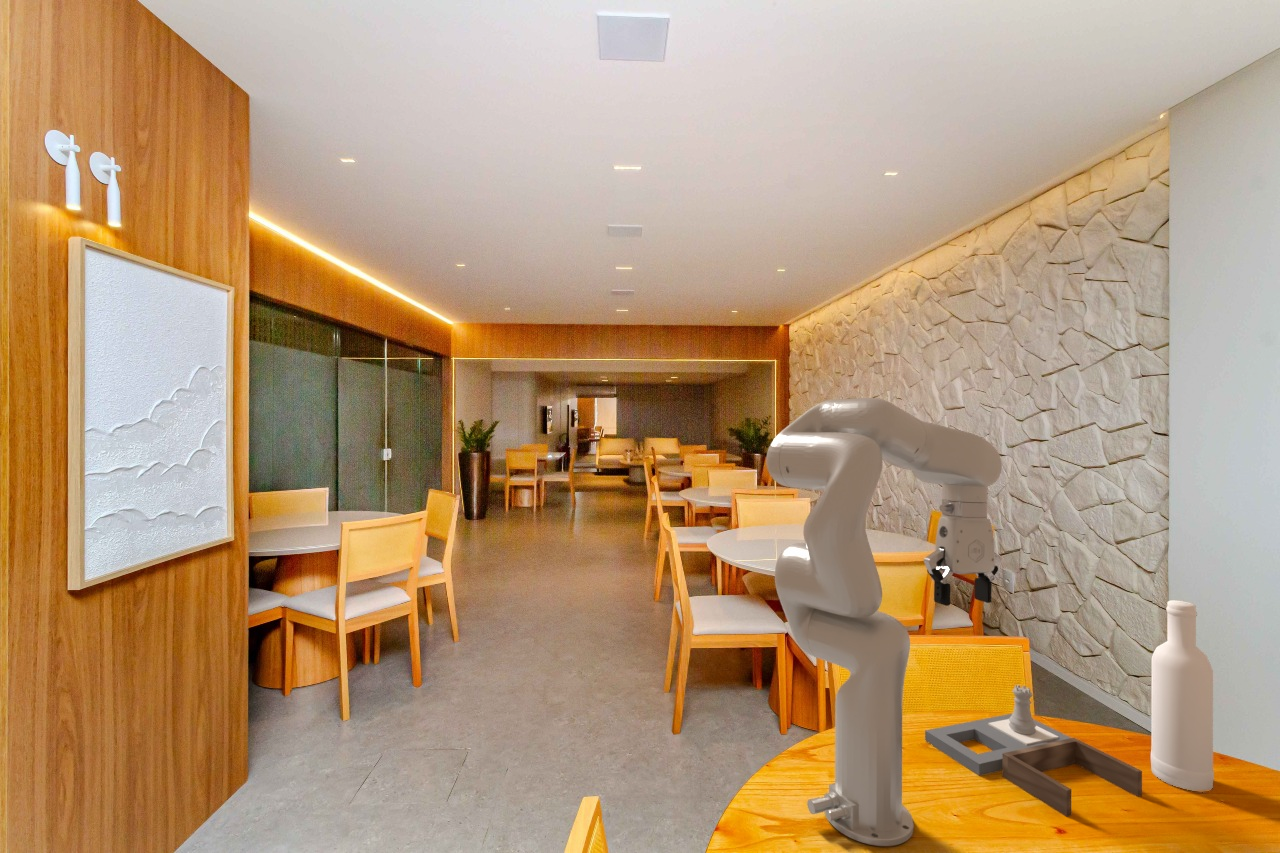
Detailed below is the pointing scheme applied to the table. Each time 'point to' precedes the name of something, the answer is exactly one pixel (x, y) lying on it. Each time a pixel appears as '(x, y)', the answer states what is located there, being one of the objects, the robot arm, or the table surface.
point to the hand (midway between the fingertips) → (962, 602)
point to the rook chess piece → (1022, 712)
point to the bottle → (1182, 705)
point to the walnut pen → (1034, 760)
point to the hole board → (988, 741)
